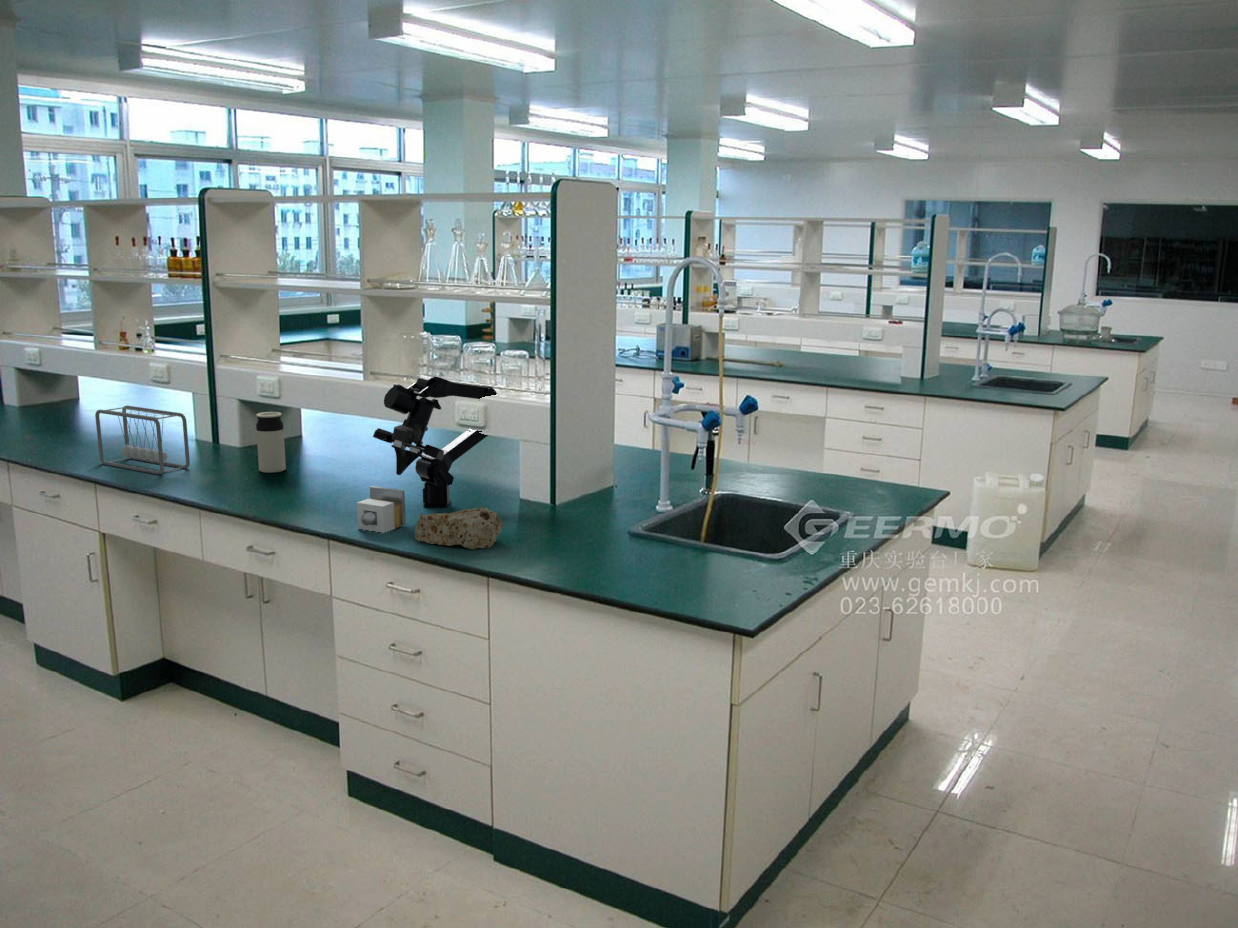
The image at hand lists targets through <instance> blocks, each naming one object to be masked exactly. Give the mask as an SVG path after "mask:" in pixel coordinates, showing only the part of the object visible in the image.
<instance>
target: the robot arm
mask: <svg viewBox="0 0 1238 928" xmlns="http://www.w3.org/2000/svg"><path fill="white" fill-rule="evenodd" d="M496 394H498V393H497V391H496V389H495V388H493V387H492V386H487V385H476V384H467V383H461V382H454V381H450V380H448V379H446V378H443V377H440V376H436V375H430V374H421V375H420V376H419V377H418V378H417V379H416V381H415V382H414V383H413V384H411V385H410V386H408V387H405V386H403V385H401V384H399V383H393V386H392V387H391V388H390V389H388V391H387V392H386V393H385V396H384V399H383V405H384V407H385V408H386V409H390V410H392V411H395V412H398V413H400V414H401V415H407V414H408V415H407V417H406V418H405V419H404V420H403V423H402V424H398V425H396V426H394V427H393V432H391V431H388V430H385V429H382V428H380V427H378V428H376V430H374V432H373V435H372V437H373V438H375V439H376V440H377V439H378V440H379V441H382V442H386V443H389V444H391V446H390V447H391V448H393V449H394V453H395V466H396V467H395V472H396V473H395V474H396V475H397V476H401V475H402V474H403V473H404V472H405V471H406V470H407V469H408V468H409V466H411V464H412V463H413V462H415V473H416V474H417V475H418V476H419V478H420V480H421V482H424V487H423V488H422V504H423V507H425V508H427V507H428V508H448V506H449V505H450V504H451V503H452V499H450V485H453V482H454V480H455V479H454V478H455V477H454V476H453V474H451V473H450V472H449V471H450V469H451V467H452V465H453V463H454V462H455V461H456V460H458V459H460V458H461V457H462V456H463V455H464V454H466V453H468V452H469V451H470V450H472V448H474V447H475V446H477V444H479V443H481V441H483V440H484V439H486V438H487V437H488V436H489V435H484V434H481V433H479V432H482V431H478V430H472V429H470V428H468V429H467V430H470V431H471V432H469V431H467V430H465V431H464V432H463V433H461V434H460V435H459V436H458V437H456V438H455V439H454V440H452V441H451V442H449V443H448V444H446V446H444V447H443V448H439V447H436V446H433V445H430V444H425V445H423V443H424V442H423V439H424V436H425V434H426V432H428V430H429V427H428V425H429V422H430V419H431V416H432V414H433V412H434V410H442V407H441V404H440V402H439V400H438V399H439V398H446V397H459V398H469V399H476V400H479V399H480V398H482V397H485V396H491V395H496ZM418 397H420V398H418ZM430 398H432V399H430ZM407 448H409V450H408V449H407Z"/></svg>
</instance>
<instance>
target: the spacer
mask: <svg viewBox="0 0 1238 928" xmlns="http://www.w3.org/2000/svg"><path fill="white" fill-rule="evenodd" d="M394 517H395V529H398V528H399V527H402V525H401V505H400V504H394Z"/></svg>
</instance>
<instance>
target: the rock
mask: <svg viewBox="0 0 1238 928" xmlns="http://www.w3.org/2000/svg"><path fill="white" fill-rule="evenodd" d="M503 527H504V522H503V521H502V519H501V518H500V517H499V515H498V514H497V512H494V511H493V510H489V508H488V507H484V506H483V507H481V508H476V507H475V508H469V509H463V510H462V509H461V510H458V511H454V512H453V511H452V512H450V513H449V512H448V513H447V512H443V513H442V512H441V513H431V514H430V513H429V514H423V513H422V514H420V515H419V517H418V520H417V523H416V527H415V530H414V538H415V540H417V541H418V540H419V541H422V542H421V543H428V544H430V545H435V544H437V545H440V546H448V547H449V546H450V547H451V546H457V545H458V546H459V545H460V546H462V547H464V548H467V549H470V550H477V548H485V549H490V548H491V547H492V546H493V545H494V544H495V543H496V542H497V537H498V536H499V535H500V534H501V532H502V530H503ZM419 541H418V542H419ZM494 542H495V543H494Z"/></svg>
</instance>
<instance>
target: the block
mask: <svg viewBox="0 0 1238 928" xmlns="http://www.w3.org/2000/svg"><path fill="white" fill-rule="evenodd" d="M356 511H357V515H356V516H357V530H359V529H363V530H362V531H365V530H369V531H368V532H371V531H376V532H375V533H377V532H381V533H380V534H383V533H384V534H386V533H389V532H391V531H393V529H394V530H395V529H396V528H395V517H394V502H388V501H382V500H375V499H370V498H366V499H363V500H361V501H357V502H356ZM371 511H373V512H377V522H375V523H373V524H370V525H367V526H366V525H364V524H363V523H362V521H361V516H362V515H363V514H365V513H368V512H371ZM390 530H391V531H390ZM388 531H389V532H388ZM385 532H386V533H385Z"/></svg>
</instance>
